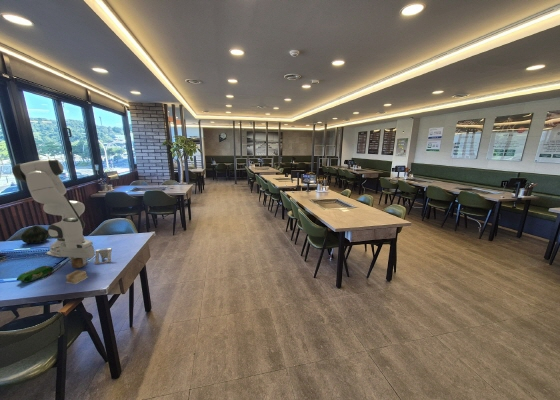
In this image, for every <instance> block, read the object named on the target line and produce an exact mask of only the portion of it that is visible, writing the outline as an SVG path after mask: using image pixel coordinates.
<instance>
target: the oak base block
mask: <svg viewBox="0 0 560 400" xmlns="http://www.w3.org/2000/svg"><path fill="white" fill-rule="evenodd" d="M86 277H88V276H87V272H86V271H85V270H77V269H76V270H74V271H73V272H70V273H68V274H66V275H65V278H66V282H71V283H70V284H74V283H77V284H79V283H80V282H79V281H81V280H82V281H84V280H86V279H87V278H86ZM85 278H86V279H85ZM83 279H84V280H83ZM82 281H81V282H82ZM78 282H79V283H78Z"/></svg>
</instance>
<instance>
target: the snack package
mask: <svg viewBox="0 0 560 400" xmlns="http://www.w3.org/2000/svg"><path fill="white" fill-rule="evenodd" d="M54 270H55V268H54V267H52V266H51V265H49V266H48V265H41V266H39V267H36V268H34V269H31V270H27V271H25V272H23V273H21V274H19V275H18V277H17V278H16V281H19V282H20V283H23V282H25V283H29V282H34V281H36V280H39V279H42V278H44V277H47V276H48V275H50V274H51V273H53V272H54ZM41 277H42V278H41Z"/></svg>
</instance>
